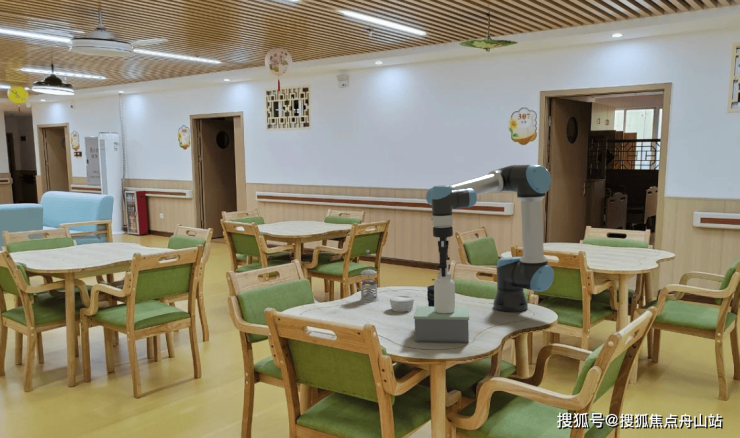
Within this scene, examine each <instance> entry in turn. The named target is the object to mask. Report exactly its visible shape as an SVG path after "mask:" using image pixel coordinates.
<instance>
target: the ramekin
mask: <svg viewBox="0 0 740 438" xmlns="http://www.w3.org/2000/svg"><path fill="white" fill-rule="evenodd" d="M414 301H415V298H414V297H413V296H409V295H396V296H392V297H390V298H389V302H390V308H391V310H392V311H394V312H398V313H404V312H405V313H406V312H410V311H412V310H413V307H414Z"/></svg>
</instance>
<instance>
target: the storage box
mask: <svg viewBox="0 0 740 438" xmlns="http://www.w3.org/2000/svg"><path fill="white" fill-rule="evenodd" d="M414 334H415V335H414V339H415V340H414V341H415V343H436V344H437V343H442V344H443V343H444V344H445V343H446V344H447V343H448V344H449V343H450V344H451V343H452V344H469V341H470V340H469V339H470V338H469V336H470V335H469V334H470V333H469V320H447V319H414Z"/></svg>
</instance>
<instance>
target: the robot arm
mask: <svg viewBox="0 0 740 438" xmlns="http://www.w3.org/2000/svg"><path fill="white" fill-rule="evenodd" d="M551 185H552V176H551V174H550V172H549V170H548V169H547V168H546V167H545V166H543V165H539V164H513V165H512V164H511V165H509V166H508V165H507V166H504V167H501V168H498V169H495V170H491V171H489V172H488V174H485V175H482V176H478V177H474V178H470V179H467V180H463V181H460V182H456V183H452V184H450V185H446V184H444V185H442V184H441V185H440V184H439V185H433V187H430V188H429V189H428V190H427V191H426V195H425V200H426V202H427V204H428V205H430V206H431V210H432V211H431V214H432V215H431V216H432V217H431V218H430V221H432V226H433V227H432V236H433V237H434V238H439V240H438V241H437V247H438V253H439V265H438V266H437V269H439V272H440V285H448V280H447V272H449V271H450V270H449V261H450V259H451V258H450V257H449V254H448V253H449V244H450V243H449V240H448V238H451V237H453V235H454V231H453V229H454V228H453V225H454V224H453V221H454V220H453V210H456V209H457V210H458V209H465V208H466V209H469V208H472V207H474V206H475V205H476V204H477V200H478V196H482V195H485V194H488V193H492V192H493V193H499V192H500V193H501V192H513V193H514V192H515V193H516V197H517V199H518V200H520V209H521V231H522V233H521V235H522V236H521V237H522V256H509V257H508V256H507V257H501V258H498V260H497V262H496V282H497V283H496V287H497V288H496V290H497V291H496V293H495V296H494V300H493V309H495V310H497V311H500V312H507V313H508V312H509V313H510V312H511V313H512V312H513V313H515V312H523V311H526V310H528V308H529V306H528V304H529V303H528V300H527V297H526V295H525V291H524V290H529V291H532V292H540V293H541V292H545V291H547V290H548V289H549V288H550V287H551V285H552V284H553V282H554V277H555V270H554V268H552V266H550V265H549V263H548V260H549V259H548V258H547V257H546V256H545V252H544V227H543V226H544V224H543V223H544V222H543V219H544V218H543V200H544V199H545V197H546V193H548V192H549V190H550V187H551ZM449 273H450V272H449Z"/></svg>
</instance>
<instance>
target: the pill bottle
mask: <svg viewBox="0 0 740 438" xmlns="http://www.w3.org/2000/svg"><path fill="white" fill-rule="evenodd" d="M447 280H448V285H440V271H439V272H438V273H437V279H436V280H434V283H433V285H434V310H435V312H437V313H443V314H447V313H453V312H454V311H455V307H456V283H455V280H453V279H452V273H451V272H447Z"/></svg>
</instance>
